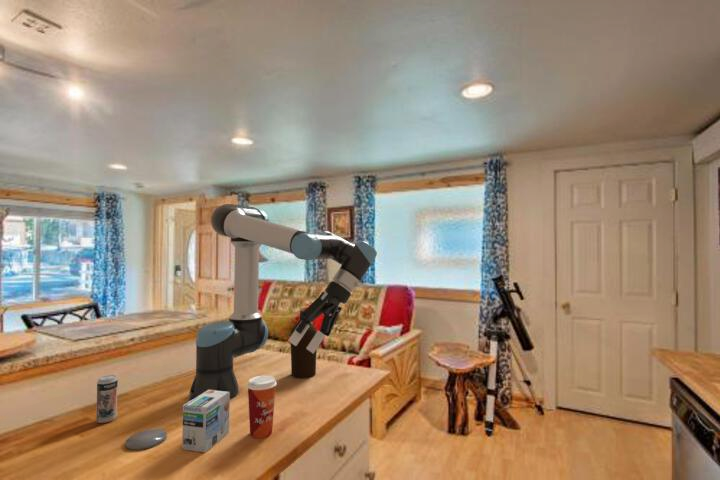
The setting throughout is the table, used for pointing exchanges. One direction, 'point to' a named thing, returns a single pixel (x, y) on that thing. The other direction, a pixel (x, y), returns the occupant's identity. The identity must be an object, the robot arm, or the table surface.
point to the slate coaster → (146, 439)
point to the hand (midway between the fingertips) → (301, 347)
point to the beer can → (106, 399)
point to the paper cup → (261, 405)
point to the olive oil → (303, 354)
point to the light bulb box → (205, 420)
